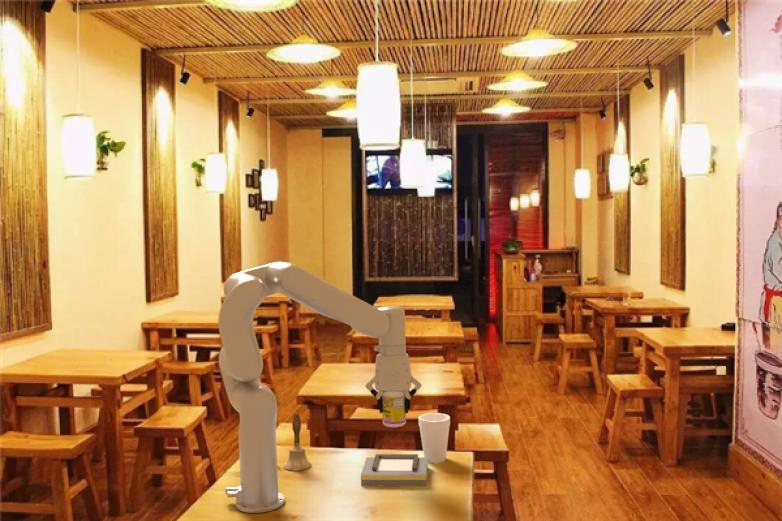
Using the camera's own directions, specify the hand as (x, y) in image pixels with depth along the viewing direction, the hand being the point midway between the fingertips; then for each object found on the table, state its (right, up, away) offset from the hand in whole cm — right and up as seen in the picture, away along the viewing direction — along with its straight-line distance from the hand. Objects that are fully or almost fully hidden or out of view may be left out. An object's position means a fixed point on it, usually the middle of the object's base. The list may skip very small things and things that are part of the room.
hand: (394, 411), depth 206 cm
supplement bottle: (0, -4, 0) cm, 4 cm away
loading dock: (0, -18, 0) cm, 19 cm away
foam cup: (+12, -17, +13) cm, 25 cm away
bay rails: (0, -15, +2) cm, 16 cm away
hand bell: (-29, -19, +11) cm, 36 cm away
